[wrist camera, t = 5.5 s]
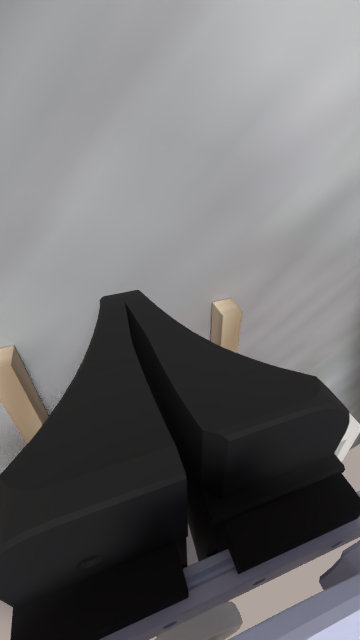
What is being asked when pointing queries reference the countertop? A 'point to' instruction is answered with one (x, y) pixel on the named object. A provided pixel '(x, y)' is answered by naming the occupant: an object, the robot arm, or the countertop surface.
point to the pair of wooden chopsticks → (22, 398)
